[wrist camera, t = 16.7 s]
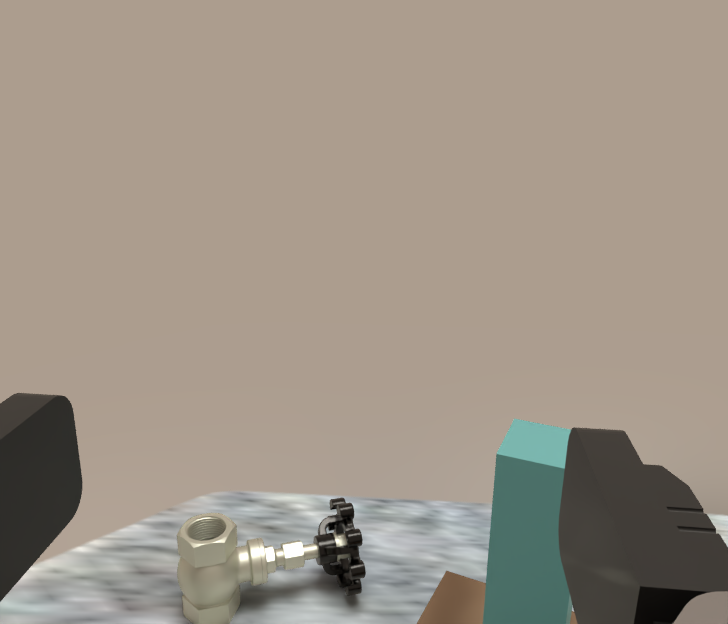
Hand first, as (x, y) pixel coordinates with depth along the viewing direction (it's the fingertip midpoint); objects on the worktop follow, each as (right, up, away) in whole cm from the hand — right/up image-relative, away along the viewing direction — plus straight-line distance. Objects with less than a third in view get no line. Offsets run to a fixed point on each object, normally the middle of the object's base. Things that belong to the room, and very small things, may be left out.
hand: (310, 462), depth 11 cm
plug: (+10, -19, +30) cm, 37 cm away
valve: (-6, -18, +37) cm, 41 cm away
